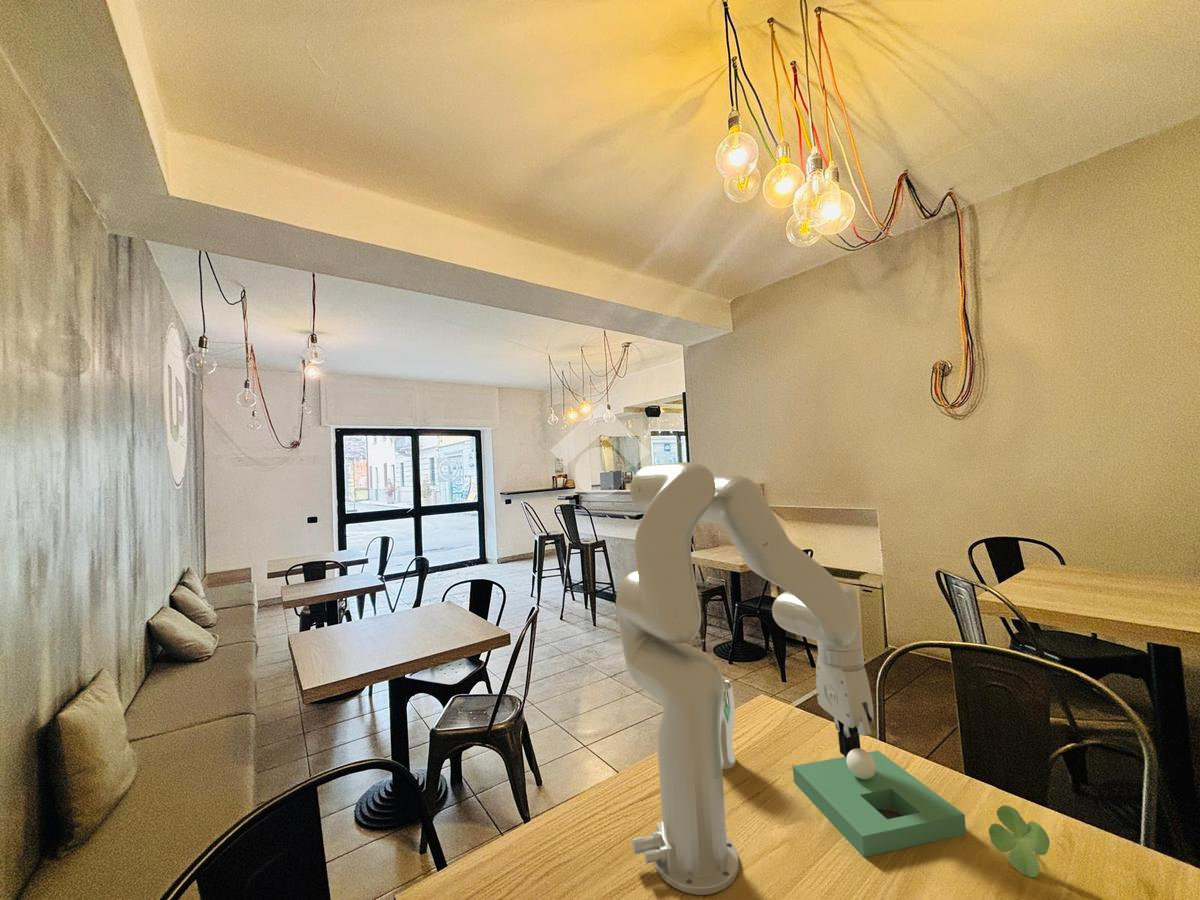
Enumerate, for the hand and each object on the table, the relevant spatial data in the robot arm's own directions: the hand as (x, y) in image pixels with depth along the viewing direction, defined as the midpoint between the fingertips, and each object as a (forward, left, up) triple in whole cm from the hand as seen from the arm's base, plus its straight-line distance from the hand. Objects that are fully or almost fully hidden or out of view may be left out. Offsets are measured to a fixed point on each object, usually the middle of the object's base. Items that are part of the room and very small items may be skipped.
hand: (850, 754), depth 89 cm
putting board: (-1, -7, -5) cm, 8 cm away
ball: (-1, -4, 0) cm, 4 cm away
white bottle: (-20, +12, -5) cm, 24 cm away
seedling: (+15, -20, -5) cm, 25 cm away
